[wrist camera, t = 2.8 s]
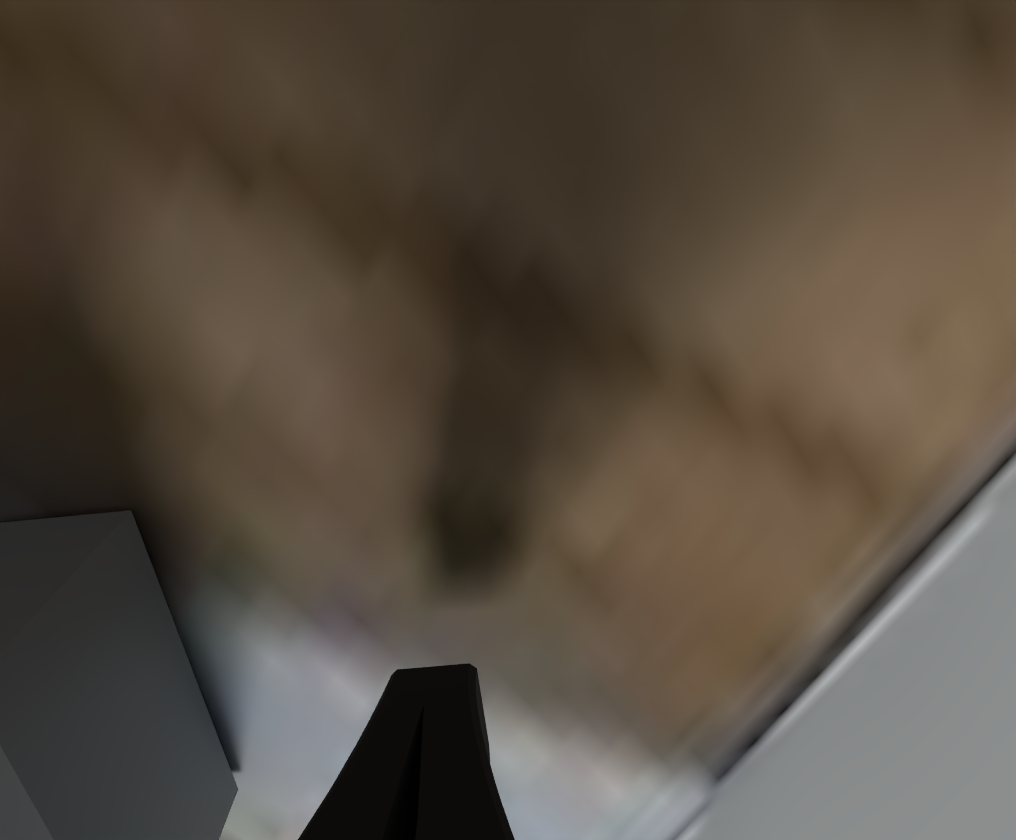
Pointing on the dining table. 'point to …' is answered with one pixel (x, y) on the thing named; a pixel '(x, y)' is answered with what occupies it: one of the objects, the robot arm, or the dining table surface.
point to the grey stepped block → (99, 693)
